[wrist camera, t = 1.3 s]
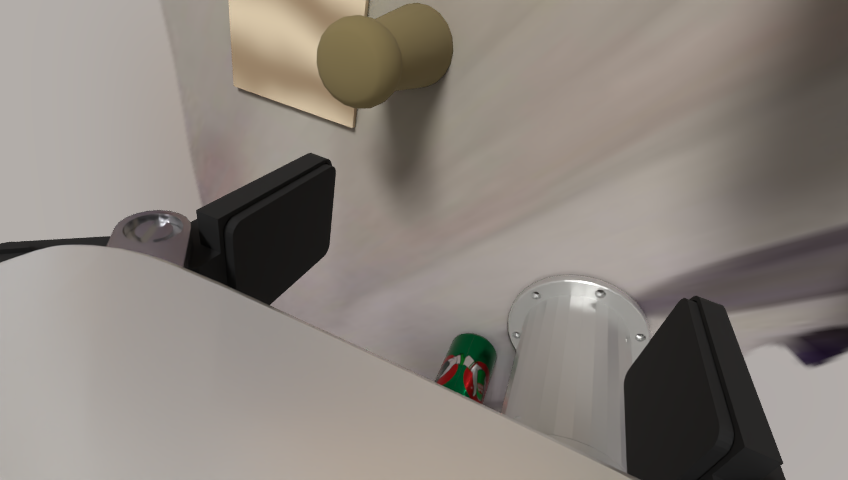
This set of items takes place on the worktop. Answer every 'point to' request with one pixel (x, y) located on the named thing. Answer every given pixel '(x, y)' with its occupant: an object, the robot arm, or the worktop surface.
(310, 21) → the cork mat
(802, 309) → the worktop surface
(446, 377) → the soda can
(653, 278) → the worktop surface
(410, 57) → the pepper shaker
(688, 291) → the worktop surface
